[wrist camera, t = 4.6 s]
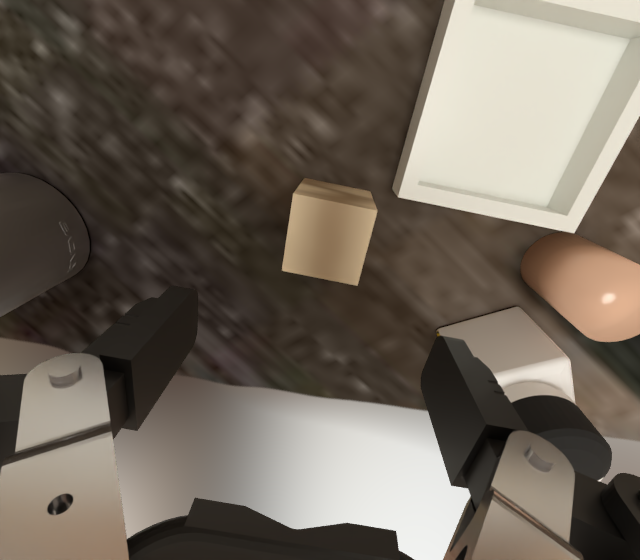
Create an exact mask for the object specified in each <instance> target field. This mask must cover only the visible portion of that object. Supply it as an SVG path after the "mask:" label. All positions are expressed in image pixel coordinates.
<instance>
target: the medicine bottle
mask: <svg viewBox="0 0 640 560" xmlns="http://www.w3.org/2000/svg"><path fill="white" fill-rule="evenodd" d="M437 336H446V337H452V338H457V339H462V340H464V341H465V342H466V344H467V346H468V348H469V349H470V351H471V353H472V354H473V356H474V357H477V358H479V359H480V360H481V361H482V362H483V363H484V364H485V365H486V366H487V367H488V368H489V369H490V370H491V371H492V373H493V375H494V376H495V378H496V379H497V381H498V384H499V385H500V386H501V387H502V389H503V391H504V392H505V393H504V395H506V396H507V397H508V399H509V400H510V402H511V404H512V405H513V407H514V408H515V410H516V412H517V413H518V415H519V417H520V418H521V420H522V421H523V423H524V425H525V426H526V428H527V429H528V431H529V432H531V433H534V434H536V435H538V436H540V437H542V438H544V439H546V440H547V441H549V442H550V443H551V444H553V445H554V446H555V447H556V448H558V449H559V450H560V451H561V452H562V453H563V454H564V455H565V457H566V458H567V459H568V461H569V462H570V464H571V465H572V467H573V470H574V471H576V472H579V473H581V474H583V475H586V476H588V477H590V478H593V479H595V480H597V481H601V480H602V479H603V478H604V477H605V475H606V474H607V473H608V471H609V469H610V466H611V460H612V452H611V448H610V446H609V444H608V443H607V442H606V440H605V439H604V438H603V437H602V436H601V434H600V433H599V432H598V431H597V429H596V428H595V427H594V426H593V425H592V423H591V422H590V421H589V420H588V419H587V417H586V416H585V415H584V414H583V412H582V411H581V410H580V409H579V408H578V406H577V405H576V404H575V396H574V388H573V380H572V371H571V363H570V360H569V358H568V357H567V356H566V355H565V353H564V352H563V351H562V350H561V349H560V348H559V347H558V346H557V345H556V344H555V343H554V342H553V341H552V340H551V339H550V338H549V337H548V336H547V335H546V334H545V333H544V331H543V330H542V329H541V328H540V327H539V326H538V325H537V324H536V323H535V322H534V321H533V320H532V319H531V318H530V317H529V316H528V315H527V314H526V313H525V312H524V311H523V310H522V308H520V307H513V308H509V309H506V310H502V311H499V312H495V313H492V314H488V315H485V316H481V317H478V318H474V319H470V320H467V321H463V322H460V323H456V324H453V325H449V326H446V327H442V328H439V329H438V330H437Z"/></svg>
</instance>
